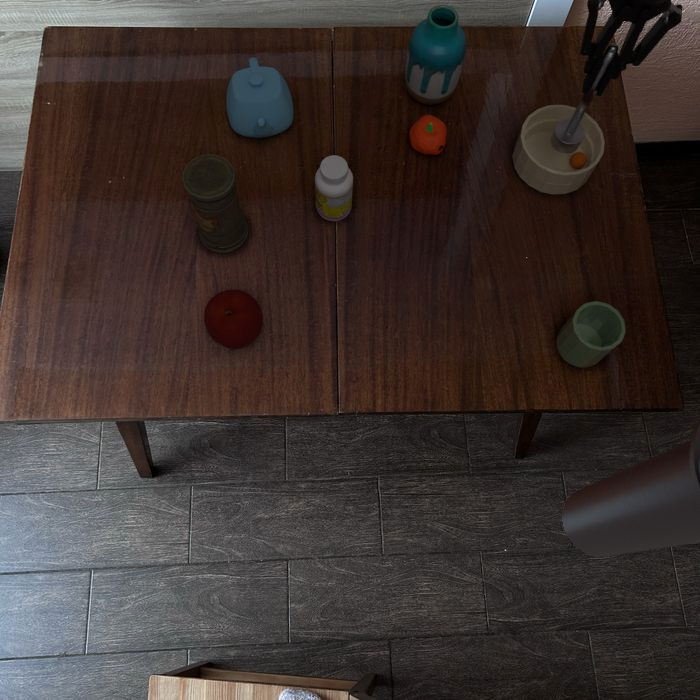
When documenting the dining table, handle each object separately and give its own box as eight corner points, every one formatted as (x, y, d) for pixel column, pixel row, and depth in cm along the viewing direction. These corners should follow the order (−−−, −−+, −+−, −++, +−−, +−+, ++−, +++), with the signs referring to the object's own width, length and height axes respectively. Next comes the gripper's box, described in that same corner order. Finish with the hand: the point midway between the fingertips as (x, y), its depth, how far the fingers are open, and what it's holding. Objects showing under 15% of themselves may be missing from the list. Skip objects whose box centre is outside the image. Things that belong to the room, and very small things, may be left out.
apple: (230, 297, 122) (222, 271, 112) (276, 323, 120) (272, 299, 111) (199, 340, 119) (188, 318, 109) (246, 367, 117) (239, 347, 108)
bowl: (585, 203, 130) (599, 182, 123) (506, 186, 131) (515, 164, 124) (595, 137, 135) (608, 114, 129) (518, 121, 136) (527, 97, 129)
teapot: (226, 128, 121) (216, 47, 127) (234, 164, 131) (224, 87, 137) (298, 120, 122) (285, 39, 128) (300, 156, 132) (288, 80, 138)
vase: (398, 72, 139) (408, -6, 121) (450, 69, 140) (468, -10, 122) (405, 116, 136) (417, 42, 118) (459, 112, 136) (478, 38, 118)
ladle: (577, 156, 122) (630, 62, 101) (548, 150, 123) (595, 55, 101) (581, 132, 124) (633, 35, 103) (552, 126, 124) (599, 27, 103)
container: (226, 201, 128) (211, 141, 111) (259, 232, 126) (248, 176, 109) (189, 231, 126) (167, 174, 109) (221, 263, 124) (204, 210, 107)
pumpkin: (443, 126, 135) (449, 104, 129) (446, 161, 132) (452, 140, 126) (407, 126, 135) (410, 104, 129) (409, 161, 132) (413, 140, 126)
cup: (602, 372, 119) (623, 355, 110) (552, 361, 119) (569, 343, 111) (607, 328, 122) (628, 308, 113) (559, 317, 122) (576, 296, 114)
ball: (582, 173, 132) (587, 163, 129) (566, 169, 132) (571, 160, 129) (584, 160, 133) (589, 150, 130) (568, 156, 133) (574, 147, 130)
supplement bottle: (315, 192, 129) (313, 150, 117) (350, 190, 130) (352, 148, 117) (316, 223, 127) (315, 184, 115) (352, 222, 127) (355, 182, 115)
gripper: (717, -51, 89) (640, 78, 111) (604, -73, 90) (550, 60, 112) (714, -7, 87) (635, 116, 109) (598, -30, 87) (543, 97, 110)
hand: (592, 87), depth 110 cm, fingers closed on ladle, 2 cm apart
